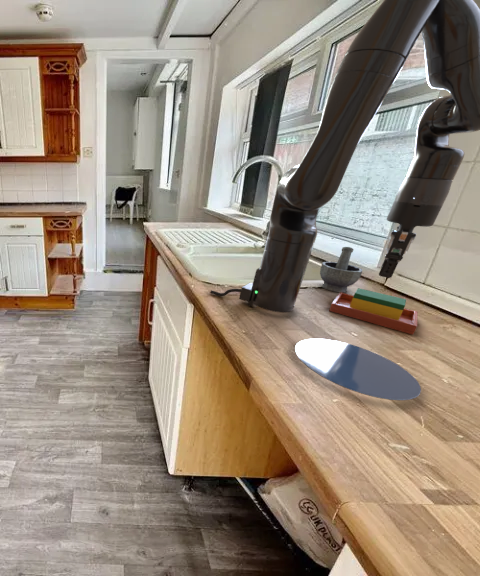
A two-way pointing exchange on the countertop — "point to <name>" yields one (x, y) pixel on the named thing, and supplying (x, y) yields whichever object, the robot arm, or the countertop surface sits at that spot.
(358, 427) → the countertop surface
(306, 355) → the mirror
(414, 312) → the sponge dish
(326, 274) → the mortar and pestle
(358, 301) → the sponge
